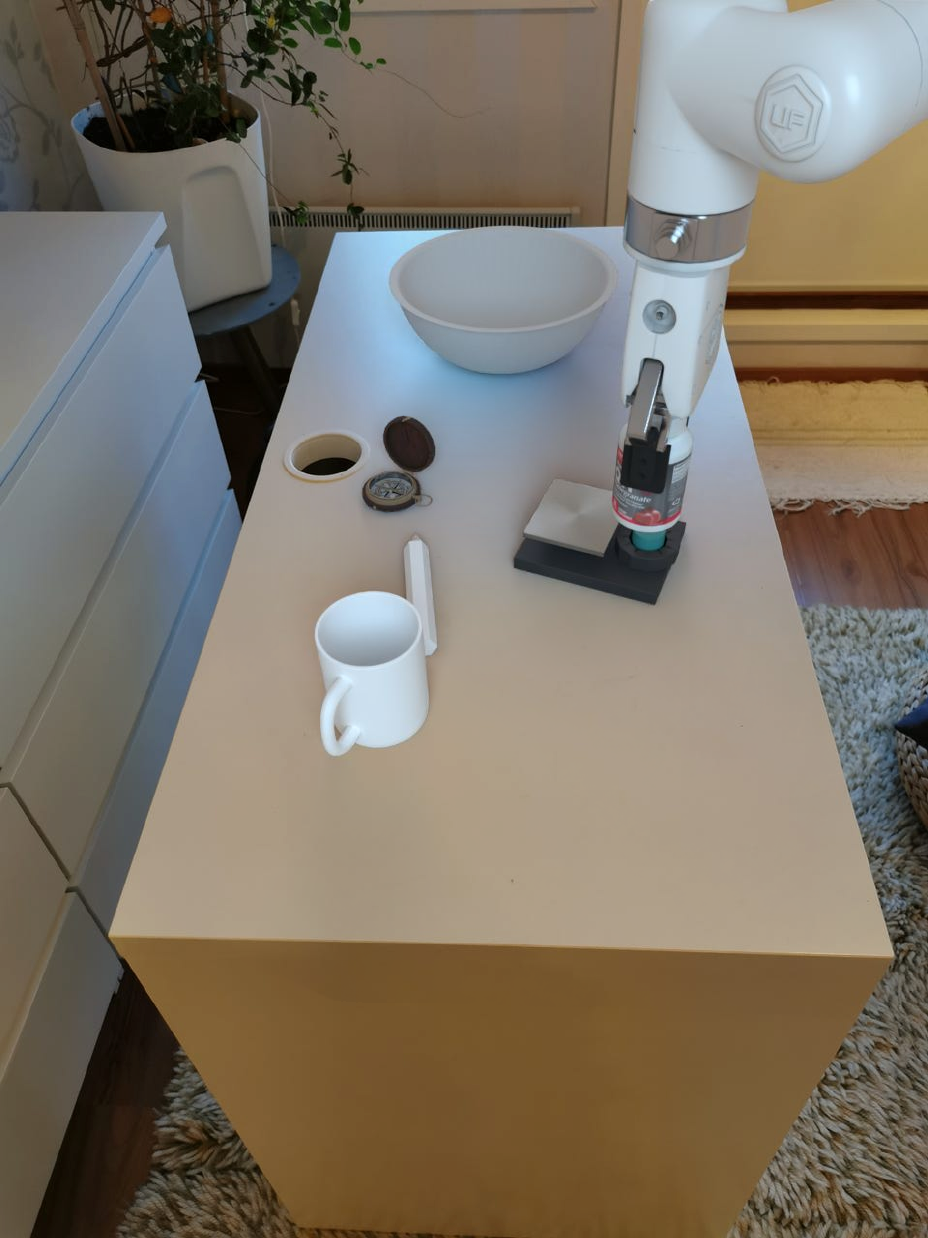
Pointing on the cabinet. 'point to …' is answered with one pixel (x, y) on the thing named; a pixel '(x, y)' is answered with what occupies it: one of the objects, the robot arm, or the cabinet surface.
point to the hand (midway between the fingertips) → (653, 461)
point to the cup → (371, 671)
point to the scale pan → (574, 518)
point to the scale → (607, 564)
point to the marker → (421, 588)
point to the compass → (401, 466)
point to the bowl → (503, 295)
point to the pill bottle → (652, 508)
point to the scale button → (648, 540)
